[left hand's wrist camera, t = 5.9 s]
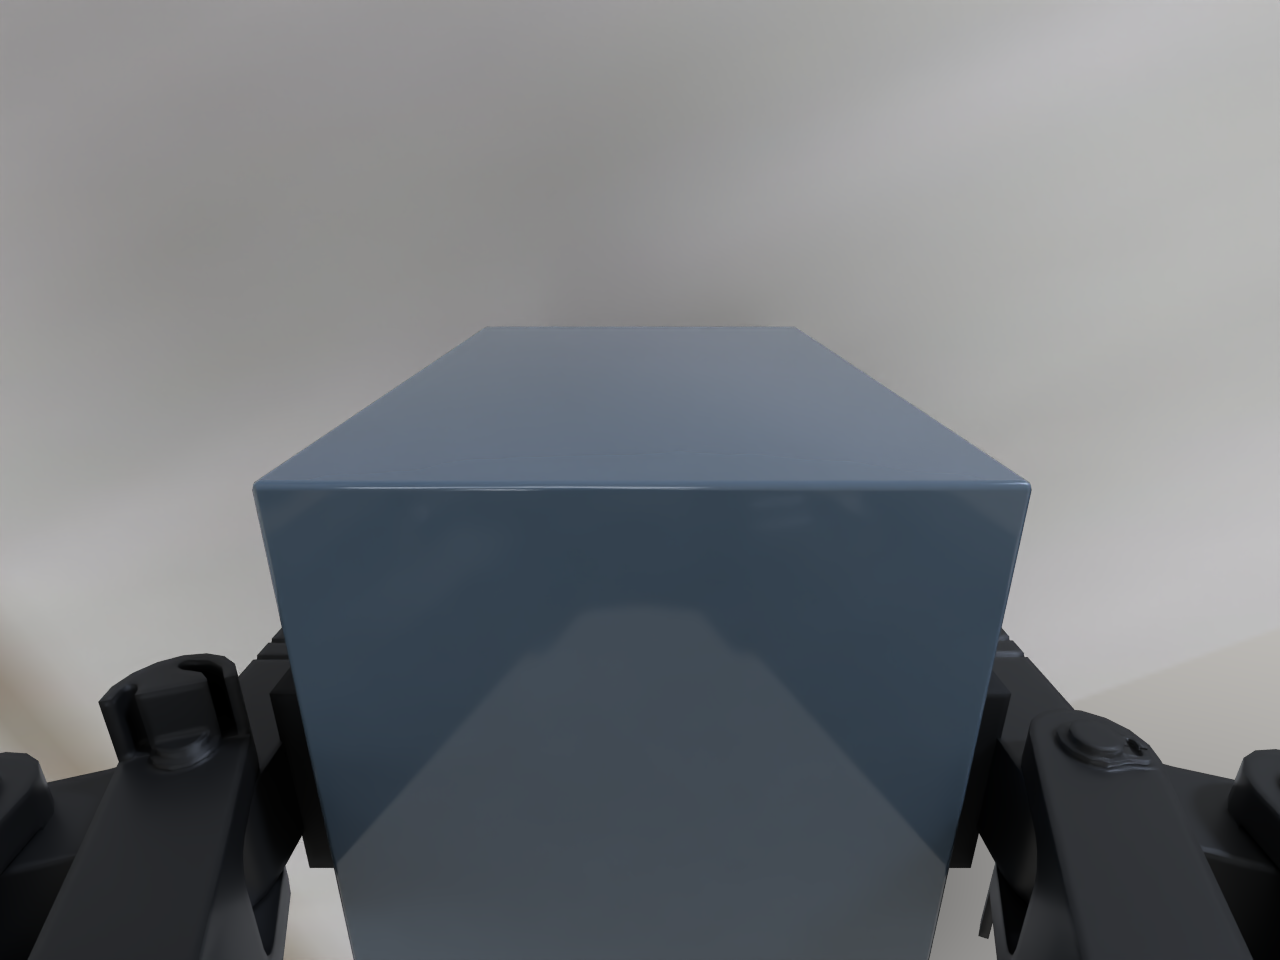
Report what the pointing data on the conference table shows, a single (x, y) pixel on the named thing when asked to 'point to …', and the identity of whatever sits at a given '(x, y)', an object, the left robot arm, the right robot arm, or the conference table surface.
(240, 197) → the conference table surface
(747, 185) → the conference table surface
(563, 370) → the block
